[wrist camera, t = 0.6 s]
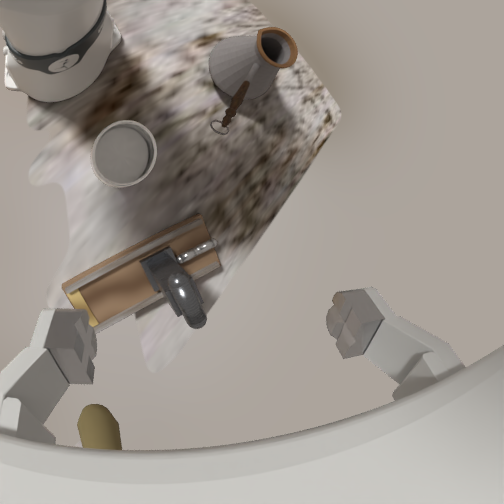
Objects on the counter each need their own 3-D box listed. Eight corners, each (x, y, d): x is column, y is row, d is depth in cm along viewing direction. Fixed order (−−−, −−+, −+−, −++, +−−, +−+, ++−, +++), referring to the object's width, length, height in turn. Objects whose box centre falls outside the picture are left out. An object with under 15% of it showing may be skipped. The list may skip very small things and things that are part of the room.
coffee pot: (228, 31, 40) (277, -7, 28) (275, 71, 46) (333, 48, 34) (151, 122, 39) (178, 97, 27) (210, 163, 45) (260, 159, 33)
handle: (135, 253, 41) (155, 287, 29) (206, 218, 45) (254, 235, 33) (156, 295, 44) (185, 341, 32) (222, 260, 48) (271, 290, 36)
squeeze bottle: (105, 432, 46) (124, 504, 31) (69, 418, 41) (79, 493, 26) (123, 408, 47) (147, 482, 32) (86, 392, 43) (98, 469, 27)
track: (62, 283, 38) (61, 289, 36) (198, 213, 46) (203, 215, 44) (91, 330, 41) (91, 338, 39) (217, 262, 50) (223, 267, 48)
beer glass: (141, 139, 39) (163, 121, 26) (135, 186, 40) (155, 191, 28) (95, 136, 36) (95, 115, 23) (89, 184, 37) (85, 187, 24)
